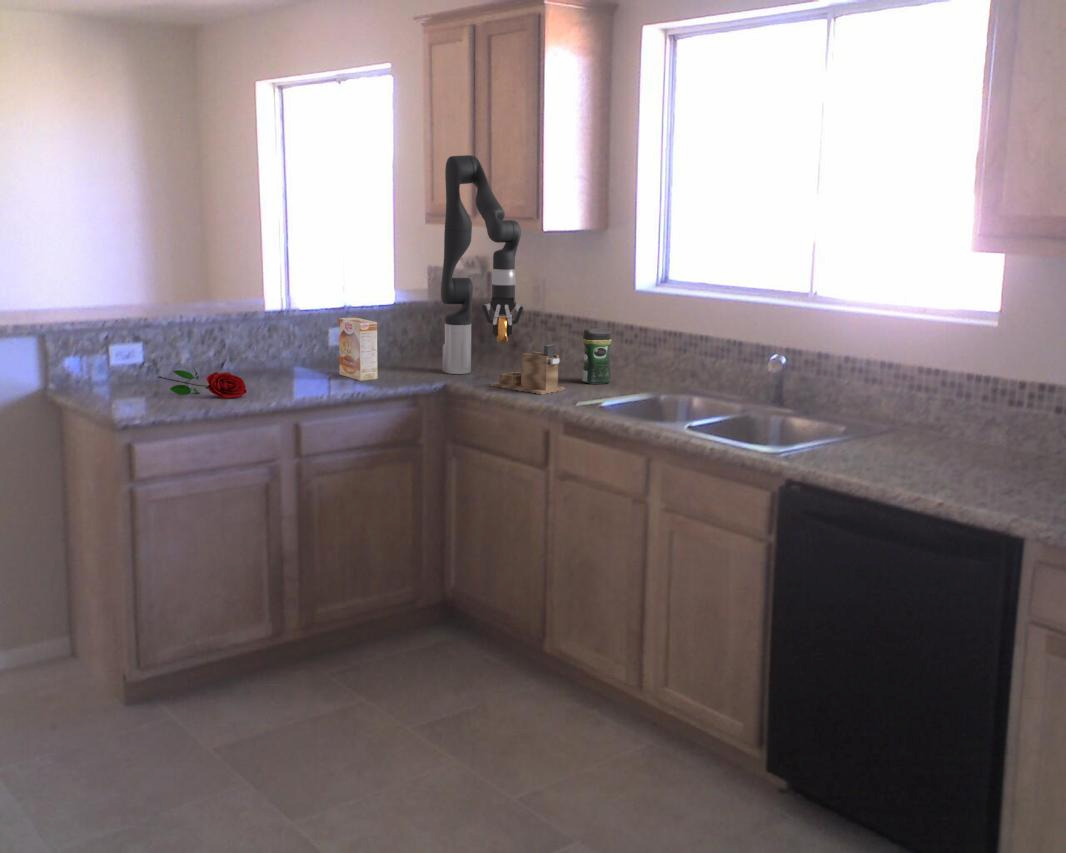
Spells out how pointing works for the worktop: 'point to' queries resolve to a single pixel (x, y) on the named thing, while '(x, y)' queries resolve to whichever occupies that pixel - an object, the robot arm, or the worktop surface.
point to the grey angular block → (550, 354)
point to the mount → (532, 375)
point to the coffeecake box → (358, 348)
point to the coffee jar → (596, 356)
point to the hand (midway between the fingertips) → (502, 336)
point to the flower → (213, 384)
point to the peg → (502, 329)
